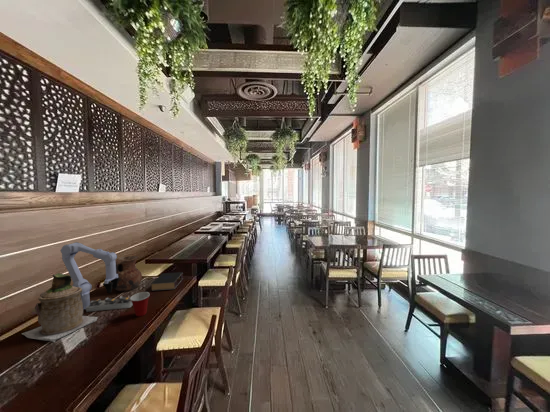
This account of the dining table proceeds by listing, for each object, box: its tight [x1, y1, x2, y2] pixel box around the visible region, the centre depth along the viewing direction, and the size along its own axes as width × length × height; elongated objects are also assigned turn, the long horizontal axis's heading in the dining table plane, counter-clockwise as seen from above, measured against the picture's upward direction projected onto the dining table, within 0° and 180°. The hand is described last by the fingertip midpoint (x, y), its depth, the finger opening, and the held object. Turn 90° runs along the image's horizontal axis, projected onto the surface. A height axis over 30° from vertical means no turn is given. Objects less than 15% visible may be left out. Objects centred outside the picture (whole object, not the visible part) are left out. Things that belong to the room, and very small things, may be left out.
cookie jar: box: [21, 273, 98, 343], centre depth 135 cm, size 25×25×32 cm
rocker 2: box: [104, 297, 117, 303], centre depth 160 cm, size 5×3×2 cm, turn 100°
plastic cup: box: [129, 291, 151, 317], centre depth 149 cm, size 11×11×12 cm
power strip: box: [85, 297, 133, 313], centre depth 161 cm, size 26×8×5 cm, turn 100°
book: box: [150, 271, 184, 292], centre depth 200 cm, size 17×25×7 cm
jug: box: [115, 255, 143, 292], centre depth 195 cm, size 22×21×25 cm
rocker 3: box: [118, 295, 130, 301], centre depth 161 cm, size 5×3×2 cm, turn 100°
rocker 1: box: [90, 298, 102, 305], centre depth 158 cm, size 5×3×2 cm, turn 100°
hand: (112, 290), depth 163 cm, fingers open, 7 cm apart
